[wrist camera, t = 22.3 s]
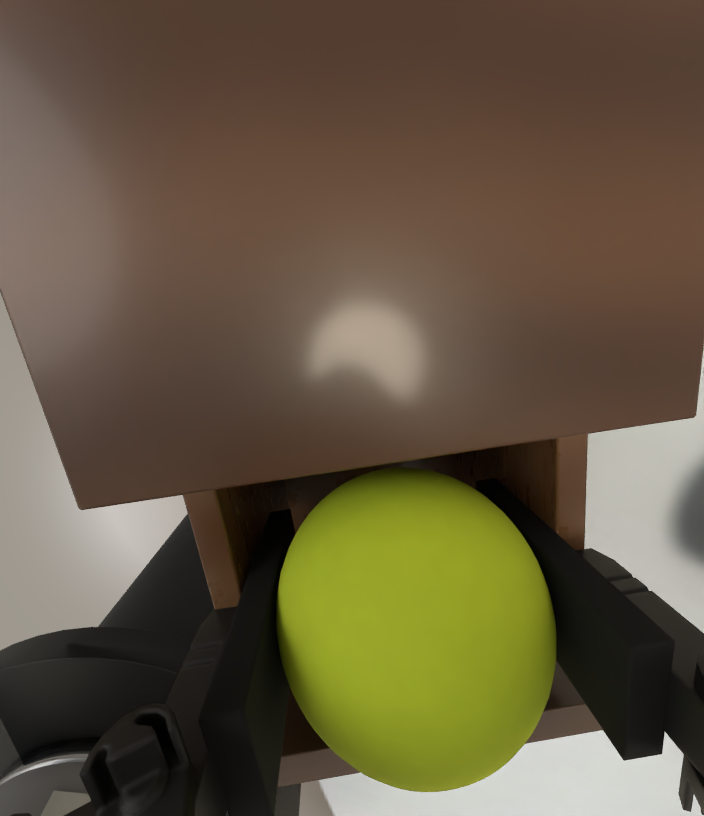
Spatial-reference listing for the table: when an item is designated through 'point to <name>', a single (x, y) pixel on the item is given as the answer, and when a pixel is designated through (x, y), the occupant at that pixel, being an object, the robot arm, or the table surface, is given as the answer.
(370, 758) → the tennis ball
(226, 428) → the cabinet
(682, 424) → the table surface
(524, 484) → the drawer
